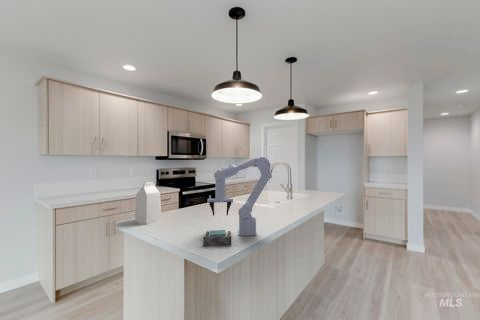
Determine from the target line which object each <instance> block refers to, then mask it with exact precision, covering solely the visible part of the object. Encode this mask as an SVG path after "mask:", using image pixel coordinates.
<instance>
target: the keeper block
mask: <svg viewBox="0 0 480 320" xmlns="http://www.w3.org/2000/svg"><path fill="white" fill-rule="evenodd" d="M226 233H227V232H226V230H225V229H219V230H209V236H227V234H226Z"/></svg>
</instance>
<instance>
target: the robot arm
mask: <svg viewBox="0 0 480 320" xmlns="http://www.w3.org/2000/svg"><path fill="white" fill-rule="evenodd" d="M250 167H252V168H257V169H258V170H259V171H260V175H261V176H260V177H259V179H258V181H257V182H256V184H255V186H254V187H253V189H252V191H251V193H250V195H249V196H248V198H247V200H245V203H243V204H242V206H241V207H239V209H238V212H237V213H238V214H237V215H238V230H237V233H238V236H239V237H240V236H244V237H245V236H257V219H256V217H253V215H252V212H253V208H254V206H255V204H256V203H257V200H258V198H259V197H260V195H261V193H263V190H264V188H265V186H266V185H267V184H268V182H269V180H270V179H271V176H272V173H271V163H270V160H269V159H268V157H266V156H259V157H257V158H252V159H249V160H247V161H244V162H243V163H242V162H241V164H238V165H235V164H229V165H228V166H226V167H222V168H221V169H219V170H216V171H215V173H213V176H214V179H215V185H214V187H215V188H214V190H215V191H214V194H215V196H214V197H215V198H207V203H208V204H209V206H210V209H211V211H212V217H215V203H226V216H229V211H230V208H231V206H232V203H234V198H227V197H226V179H228V178H231V177H234V176H237V175H238V173H239V171H243V170H245V169H249V168H250Z"/></svg>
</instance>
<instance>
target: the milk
mask: <svg viewBox="0 0 480 320" xmlns="http://www.w3.org/2000/svg"><path fill="white" fill-rule="evenodd" d="M135 195H136V197H135V213H134V216H135V217H134V223H136V222H137V224H140V225H144V224H145V225H144V226H147V225H151V224H154V223H157V222H161V221H162V220H163V217H162V216H163V215H162V202H161V192H160V191H159V190H158V188H157V187H156V185H155V184H154V181H147V182H143V184H142V187H141V188H140V189H138V191H137V192H136V194H135Z"/></svg>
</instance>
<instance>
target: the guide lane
mask: <svg viewBox="0 0 480 320" xmlns="http://www.w3.org/2000/svg"><path fill="white" fill-rule="evenodd" d="M209 231H210V230H209ZM209 231H206V232H205V236H203V238H202V241H203V242H202V247H211V246H212V247H213V246H215V247H217V246H219V247H221V246H222V247H223V246H228V247H229V246H232V233H231V230H227V235H226V236H209Z"/></svg>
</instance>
